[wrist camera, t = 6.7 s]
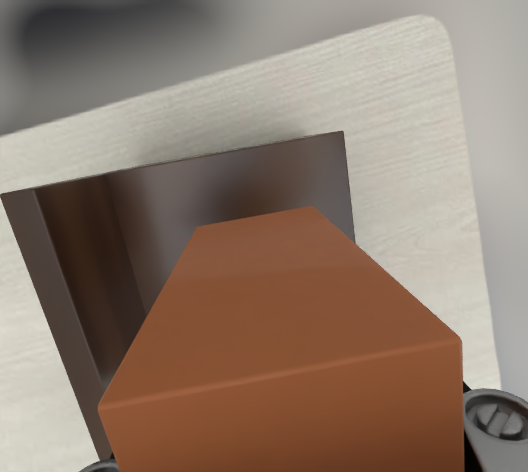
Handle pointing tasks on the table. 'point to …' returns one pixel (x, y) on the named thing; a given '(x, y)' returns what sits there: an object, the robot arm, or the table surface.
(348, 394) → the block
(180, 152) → the table surface
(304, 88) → the table surface
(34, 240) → the brown corner piece
